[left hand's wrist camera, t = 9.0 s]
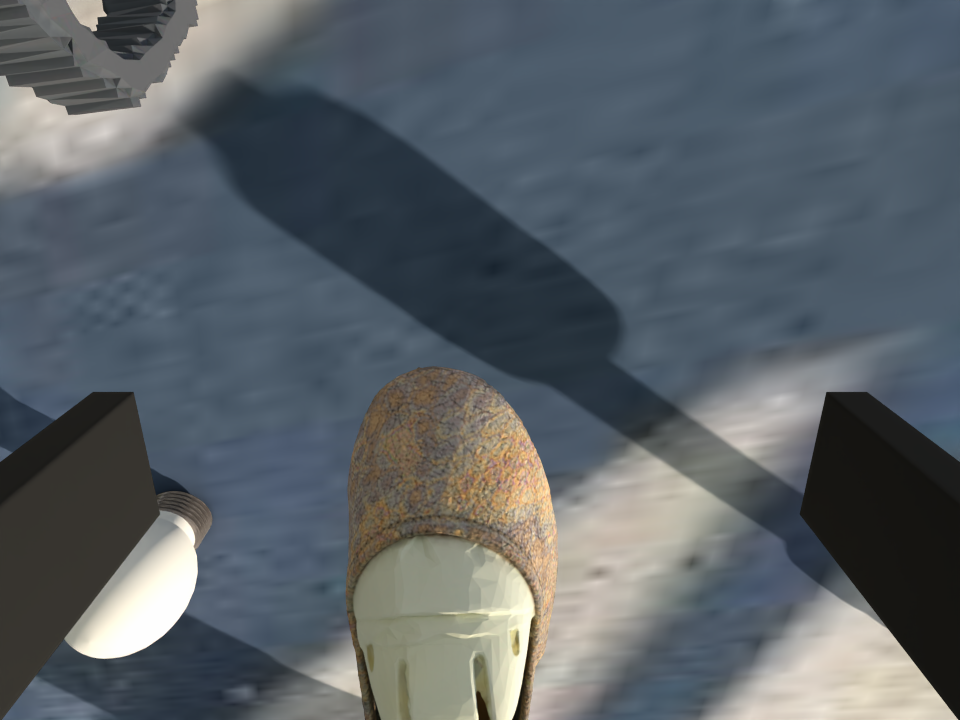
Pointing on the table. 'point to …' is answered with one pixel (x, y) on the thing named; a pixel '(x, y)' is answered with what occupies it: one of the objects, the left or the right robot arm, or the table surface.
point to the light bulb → (147, 583)
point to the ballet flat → (448, 552)
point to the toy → (91, 50)
